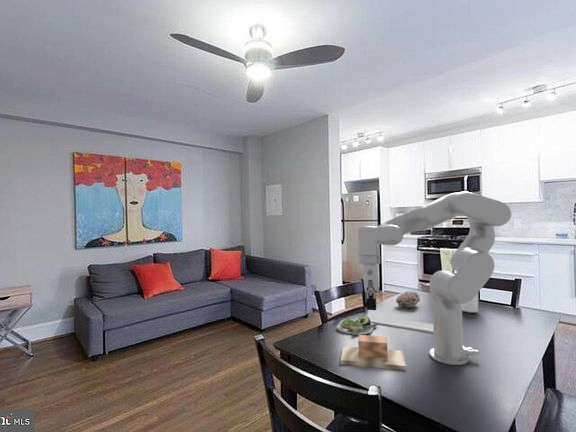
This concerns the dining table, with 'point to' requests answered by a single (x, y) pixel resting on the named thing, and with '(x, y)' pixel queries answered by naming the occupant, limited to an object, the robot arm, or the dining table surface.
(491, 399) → the dining table surface
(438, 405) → the dining table surface
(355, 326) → the salad plate
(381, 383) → the dining table surface
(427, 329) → the baseboard
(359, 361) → the plywood board
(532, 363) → the dining table surface
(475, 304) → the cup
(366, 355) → the block
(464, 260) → the robot arm
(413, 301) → the pumice stone
